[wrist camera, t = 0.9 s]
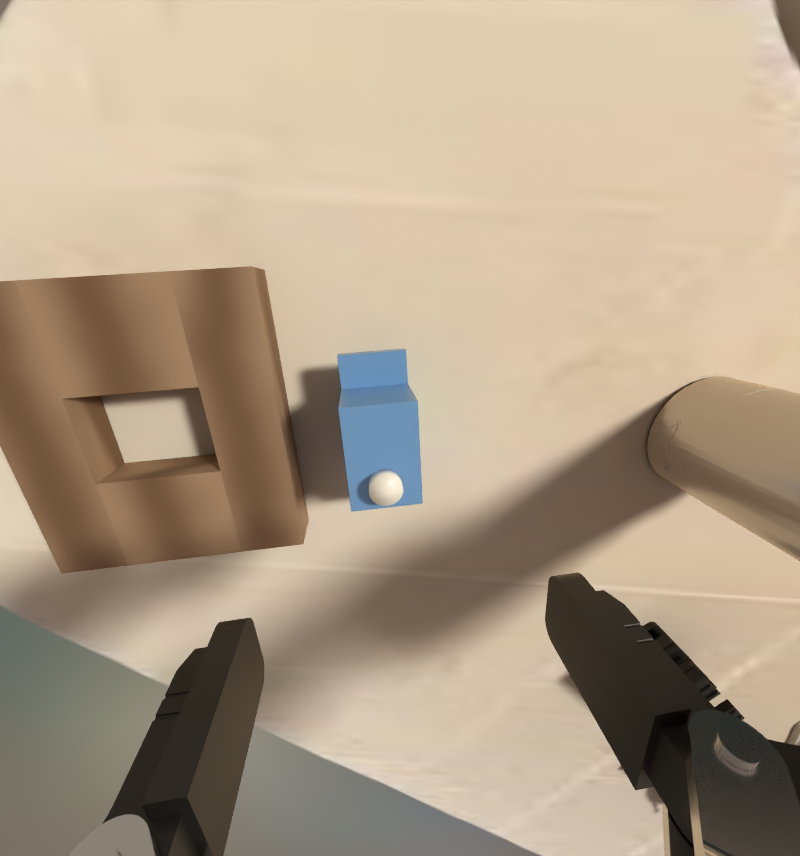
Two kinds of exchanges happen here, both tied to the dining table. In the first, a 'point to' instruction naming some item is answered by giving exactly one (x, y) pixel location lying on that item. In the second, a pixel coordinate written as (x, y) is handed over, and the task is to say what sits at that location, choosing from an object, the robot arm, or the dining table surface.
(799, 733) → the phone holder
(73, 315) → the board
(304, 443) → the dining table surface
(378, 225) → the dining table surface
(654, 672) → the robot arm
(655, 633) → the end cap
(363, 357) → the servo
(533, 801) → the dining table surface
